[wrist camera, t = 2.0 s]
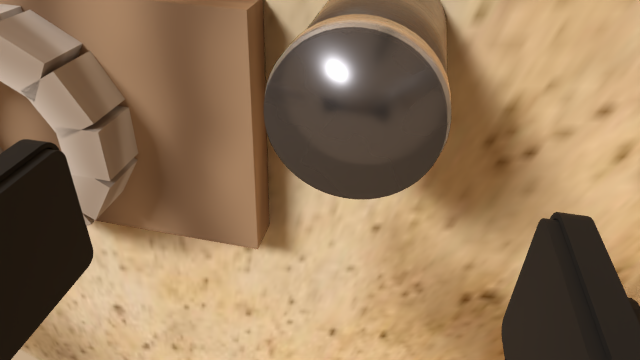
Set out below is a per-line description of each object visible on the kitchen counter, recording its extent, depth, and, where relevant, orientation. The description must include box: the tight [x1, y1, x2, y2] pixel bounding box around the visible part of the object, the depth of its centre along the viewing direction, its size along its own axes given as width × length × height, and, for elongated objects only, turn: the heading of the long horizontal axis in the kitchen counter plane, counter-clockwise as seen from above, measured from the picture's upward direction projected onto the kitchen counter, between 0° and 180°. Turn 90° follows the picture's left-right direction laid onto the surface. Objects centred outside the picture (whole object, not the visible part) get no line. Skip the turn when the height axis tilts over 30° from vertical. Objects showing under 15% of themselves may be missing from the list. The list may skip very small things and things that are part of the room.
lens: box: [264, 0, 451, 199], centre depth 16 cm, size 5×5×8 cm
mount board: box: [0, 0, 269, 249], centre depth 23 cm, size 18×12×4 cm, turn 88°
